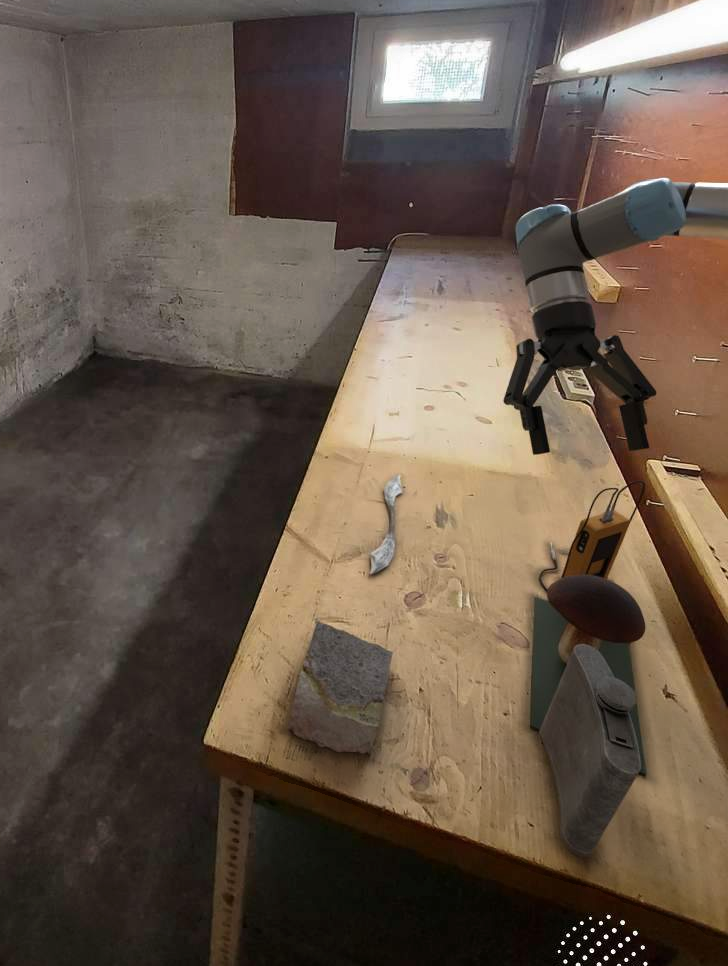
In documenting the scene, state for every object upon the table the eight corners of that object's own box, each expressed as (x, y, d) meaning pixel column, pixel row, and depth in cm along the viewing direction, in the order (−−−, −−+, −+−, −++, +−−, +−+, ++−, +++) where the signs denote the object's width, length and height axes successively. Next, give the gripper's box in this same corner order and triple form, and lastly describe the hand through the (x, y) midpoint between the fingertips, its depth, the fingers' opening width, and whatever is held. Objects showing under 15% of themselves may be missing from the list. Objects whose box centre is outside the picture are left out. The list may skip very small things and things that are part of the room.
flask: (570, 732, 71) (614, 635, 62) (604, 864, 59) (664, 766, 51) (537, 723, 72) (576, 627, 64) (564, 851, 60) (617, 754, 52)
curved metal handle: (366, 575, 96) (397, 582, 94) (367, 572, 95) (397, 579, 94) (380, 471, 122) (403, 475, 121) (380, 469, 122) (404, 473, 120)
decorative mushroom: (514, 630, 85) (539, 555, 78) (589, 630, 84) (620, 554, 78) (555, 699, 75) (587, 619, 68) (640, 699, 74) (680, 619, 68)
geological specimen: (394, 643, 78) (378, 739, 65) (387, 673, 80) (370, 771, 68) (318, 616, 82) (289, 701, 69) (313, 646, 84) (285, 733, 72)
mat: (625, 627, 85) (626, 626, 85) (645, 775, 66) (646, 774, 66) (534, 598, 90) (535, 596, 90) (529, 727, 72) (530, 725, 72)
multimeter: (569, 537, 102) (602, 445, 94) (623, 576, 94) (664, 478, 85) (505, 557, 98) (533, 463, 90) (555, 599, 90) (591, 499, 81)
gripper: (625, 314, 87) (658, 451, 82) (464, 320, 87) (487, 458, 82) (665, 295, 79) (703, 444, 74) (489, 302, 79) (515, 451, 74)
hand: (590, 451), depth 78 cm, fingers open, 13 cm apart
